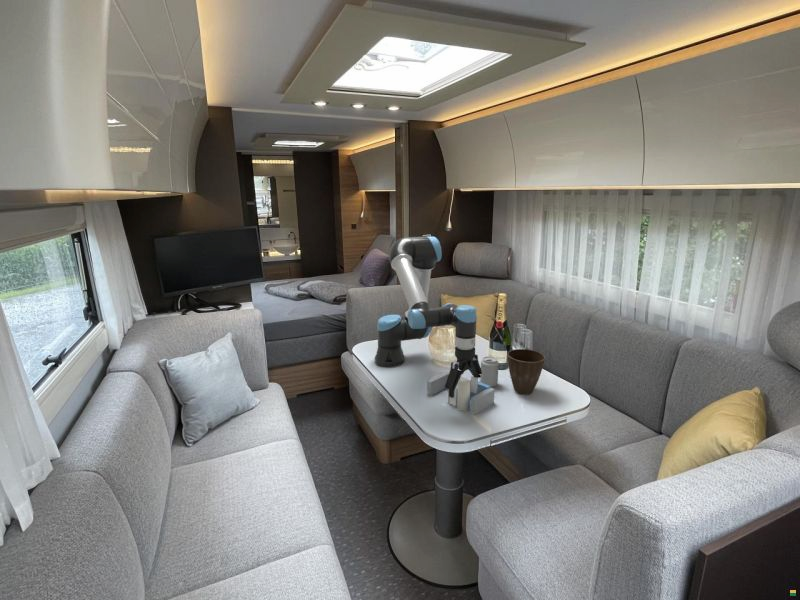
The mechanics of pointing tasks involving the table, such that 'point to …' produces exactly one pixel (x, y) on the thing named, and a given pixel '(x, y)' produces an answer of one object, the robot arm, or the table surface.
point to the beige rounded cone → (463, 395)
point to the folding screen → (477, 400)
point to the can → (489, 371)
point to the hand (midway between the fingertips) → (463, 398)
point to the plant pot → (525, 369)
